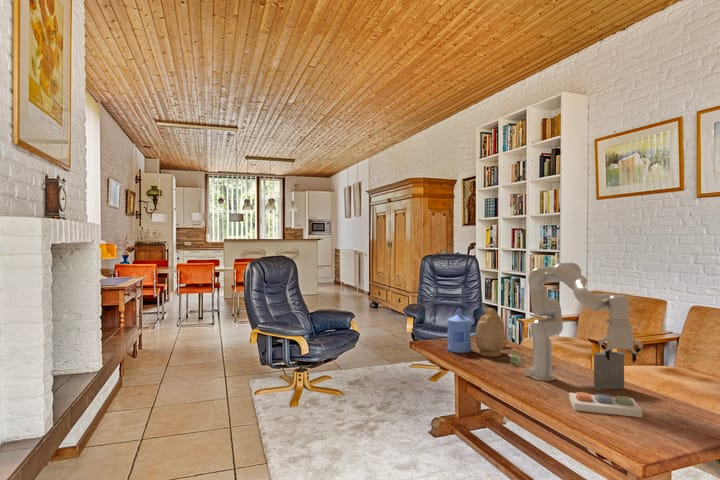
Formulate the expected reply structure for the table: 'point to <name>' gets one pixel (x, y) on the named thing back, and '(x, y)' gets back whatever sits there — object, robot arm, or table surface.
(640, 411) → the button board
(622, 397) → the olive green button
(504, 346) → the magic lamp
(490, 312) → the sculpture
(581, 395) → the terracotta button
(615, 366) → the hip flask
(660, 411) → the table surface
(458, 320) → the water jug
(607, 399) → the slate blue button
